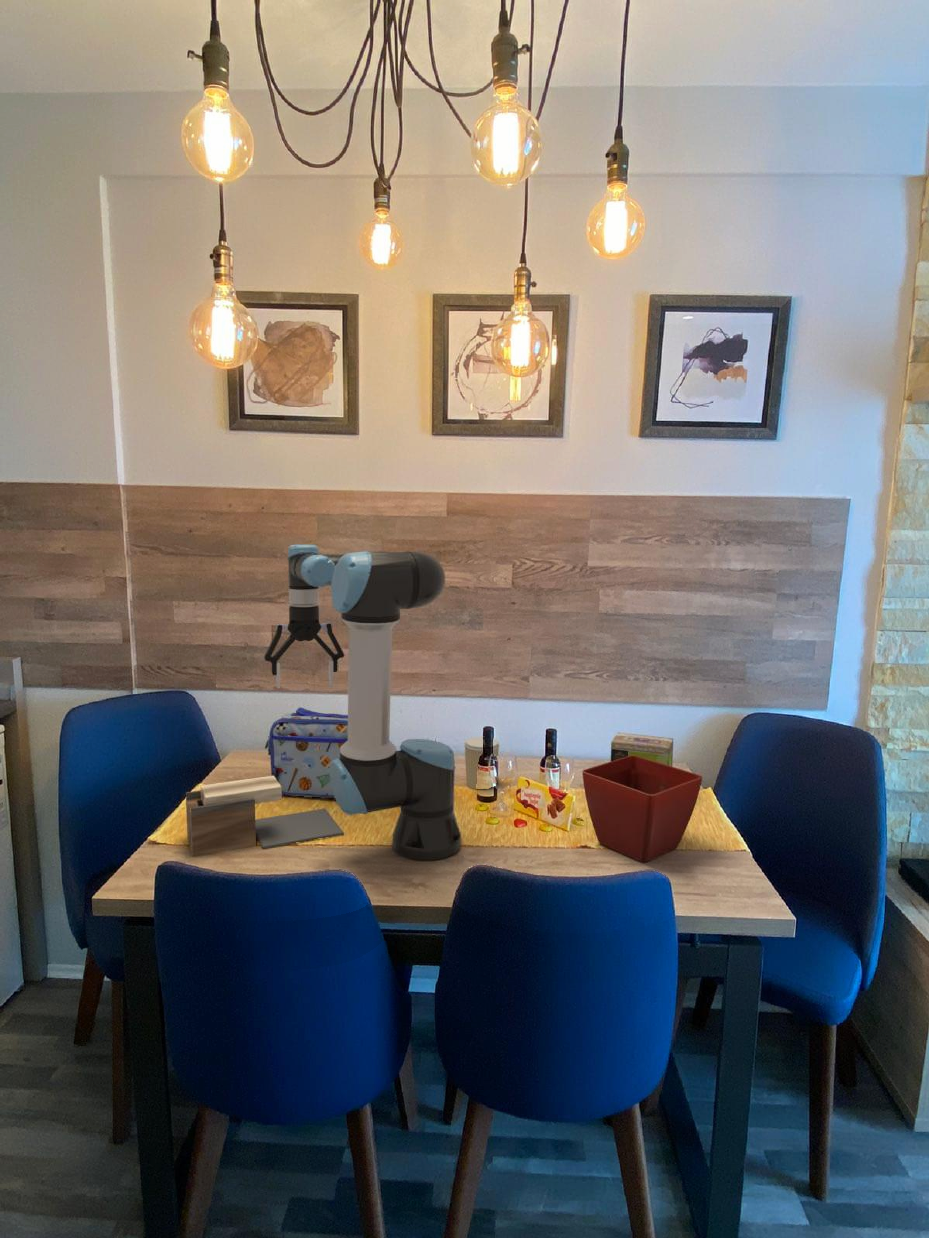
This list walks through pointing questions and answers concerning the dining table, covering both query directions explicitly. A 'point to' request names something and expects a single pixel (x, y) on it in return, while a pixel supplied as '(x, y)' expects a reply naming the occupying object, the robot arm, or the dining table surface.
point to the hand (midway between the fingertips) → (305, 685)
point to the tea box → (642, 747)
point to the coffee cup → (475, 758)
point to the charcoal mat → (296, 828)
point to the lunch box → (306, 751)
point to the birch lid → (242, 791)
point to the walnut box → (219, 825)
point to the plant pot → (640, 805)
